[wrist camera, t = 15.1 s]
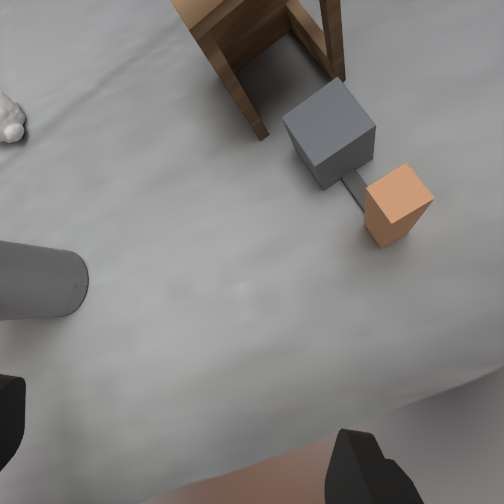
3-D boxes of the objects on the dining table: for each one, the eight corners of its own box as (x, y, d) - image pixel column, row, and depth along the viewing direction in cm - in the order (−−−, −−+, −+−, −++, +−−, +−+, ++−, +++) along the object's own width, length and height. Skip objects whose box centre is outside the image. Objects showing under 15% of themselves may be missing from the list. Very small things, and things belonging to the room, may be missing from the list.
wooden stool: (345, 79, 36) (333, -94, 20) (260, 140, 38) (188, 30, 22) (294, 15, 39) (248, -181, 23) (219, 75, 41) (129, -63, 25)
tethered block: (422, 224, 31) (456, 184, 20) (367, 256, 33) (371, 236, 21) (341, 117, 35) (333, 33, 24) (295, 149, 37) (266, 84, 25)
